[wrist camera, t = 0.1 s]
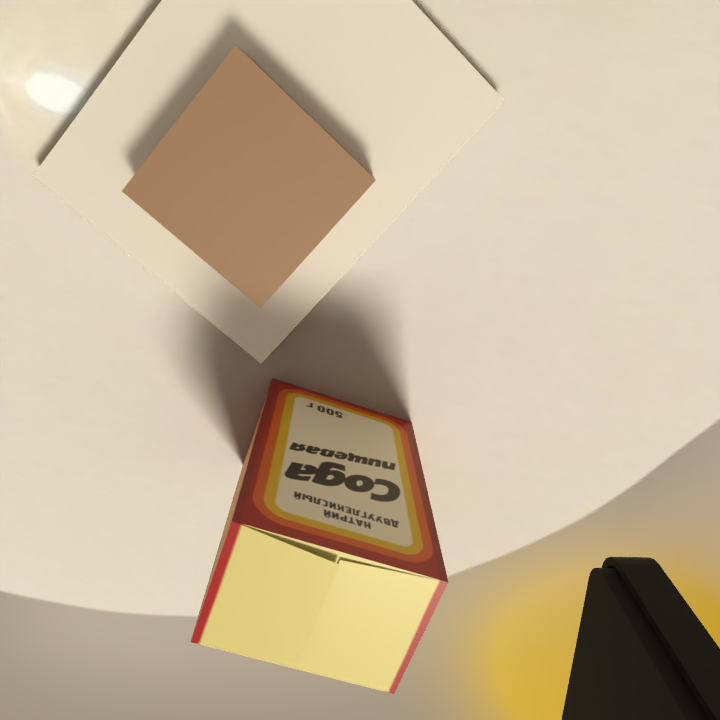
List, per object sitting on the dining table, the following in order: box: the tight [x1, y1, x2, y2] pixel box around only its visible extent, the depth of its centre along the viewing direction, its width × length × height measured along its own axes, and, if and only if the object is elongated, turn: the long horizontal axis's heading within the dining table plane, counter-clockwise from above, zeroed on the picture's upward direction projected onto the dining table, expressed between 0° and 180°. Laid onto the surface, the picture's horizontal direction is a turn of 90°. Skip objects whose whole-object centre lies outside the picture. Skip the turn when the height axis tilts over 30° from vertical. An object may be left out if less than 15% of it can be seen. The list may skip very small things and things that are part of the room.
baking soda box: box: [191, 379, 448, 694], centre depth 35 cm, size 10×6×16 cm
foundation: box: [32, 0, 505, 364], centre depth 34 cm, size 20×16×4 cm
